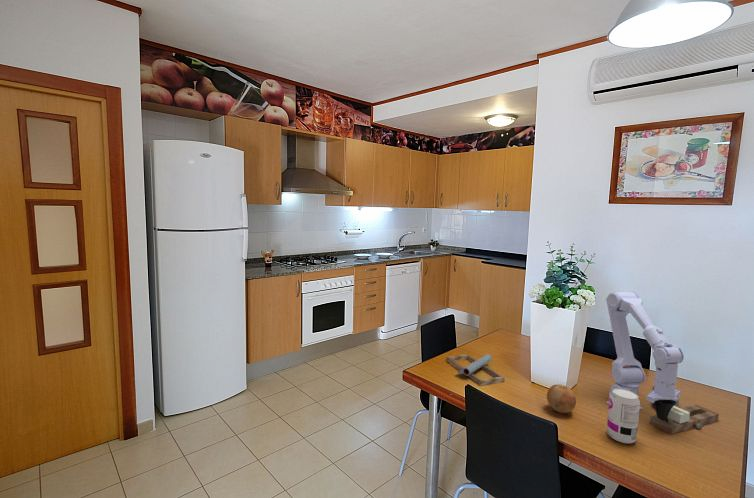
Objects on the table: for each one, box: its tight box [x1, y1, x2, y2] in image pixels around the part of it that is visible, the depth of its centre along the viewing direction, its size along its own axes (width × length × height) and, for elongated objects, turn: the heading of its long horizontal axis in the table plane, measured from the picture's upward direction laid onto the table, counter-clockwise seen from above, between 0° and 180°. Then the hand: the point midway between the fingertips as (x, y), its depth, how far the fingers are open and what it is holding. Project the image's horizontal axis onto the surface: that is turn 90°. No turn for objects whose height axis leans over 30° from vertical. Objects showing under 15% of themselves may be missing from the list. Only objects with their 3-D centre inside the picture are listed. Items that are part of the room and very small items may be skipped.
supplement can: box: [606, 389, 641, 445], centre depth 120 cm, size 8×8×15 cm
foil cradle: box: [445, 354, 506, 387], centre depth 170 cm, size 12×28×2 cm, turn 21°
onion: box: [546, 383, 577, 414], centre depth 136 cm, size 10×10×10 cm
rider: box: [667, 406, 690, 423], centre depth 129 cm, size 5×6×6 cm
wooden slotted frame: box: [649, 404, 720, 435], centre depth 131 cm, size 26×10×2 cm, turn 111°
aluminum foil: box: [456, 353, 493, 377], centre depth 170 cm, size 23×7×3 cm, turn 139°
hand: (661, 418), depth 126 cm, fingers closed
